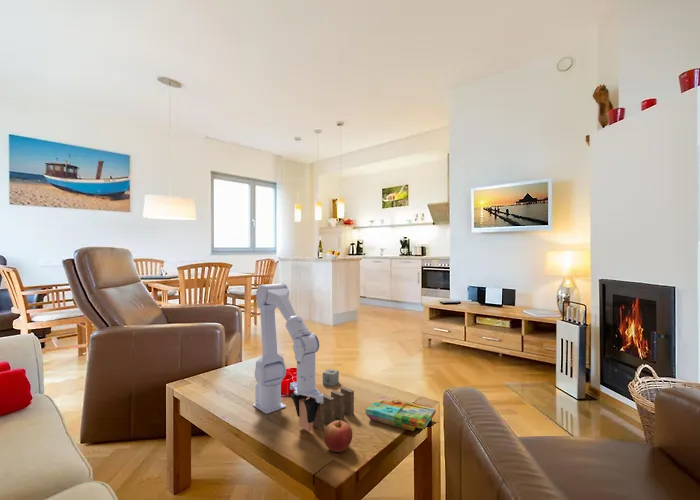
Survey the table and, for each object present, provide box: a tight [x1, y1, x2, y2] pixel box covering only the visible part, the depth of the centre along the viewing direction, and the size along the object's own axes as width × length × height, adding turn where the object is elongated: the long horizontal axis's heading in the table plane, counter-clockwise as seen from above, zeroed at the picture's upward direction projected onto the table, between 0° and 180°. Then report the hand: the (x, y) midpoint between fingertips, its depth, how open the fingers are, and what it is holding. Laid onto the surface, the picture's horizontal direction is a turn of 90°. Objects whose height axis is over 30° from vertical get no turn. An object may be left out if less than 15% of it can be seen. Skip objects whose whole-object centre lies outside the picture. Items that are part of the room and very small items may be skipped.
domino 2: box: [313, 402, 325, 431], centre depth 109 cm, size 2×5×8 cm, turn 44°
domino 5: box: [340, 386, 355, 417], centre depth 118 cm, size 2×5×8 cm, turn 44°
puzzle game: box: [365, 395, 437, 432], centre depth 113 cm, size 12×5×20 cm
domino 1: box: [298, 399, 314, 433], centre depth 106 cm, size 2×5×8 cm, turn 44°
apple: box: [323, 419, 353, 453], centre depth 96 cm, size 8×8×8 cm
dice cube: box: [322, 368, 340, 387], centre depth 145 cm, size 5×5×5 cm
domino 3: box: [322, 393, 336, 425], centre depth 112 cm, size 2×5×8 cm, turn 44°
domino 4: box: [330, 389, 345, 421], centre depth 115 cm, size 2×5×8 cm, turn 44°
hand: (305, 418), depth 106 cm, fingers closed on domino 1, 5 cm apart
